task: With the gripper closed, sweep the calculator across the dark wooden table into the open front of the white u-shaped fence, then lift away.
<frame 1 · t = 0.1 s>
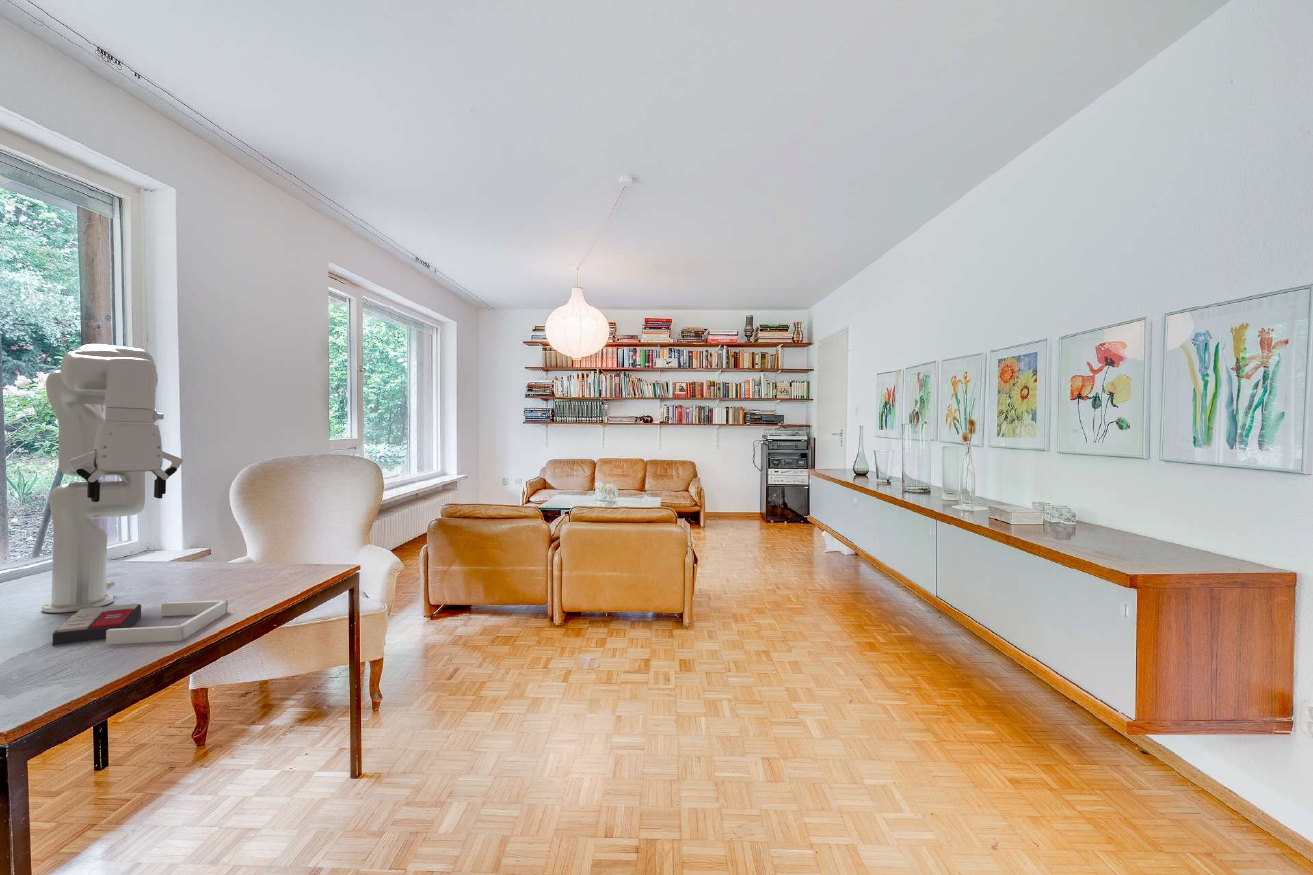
hand: (127, 499, 115), 31 cm above the table, tool pointing down, fingers open, 9 cm apart
calculator: (99, 633, 125), on the table
white u-shaped fence: (168, 627, 128), on the table
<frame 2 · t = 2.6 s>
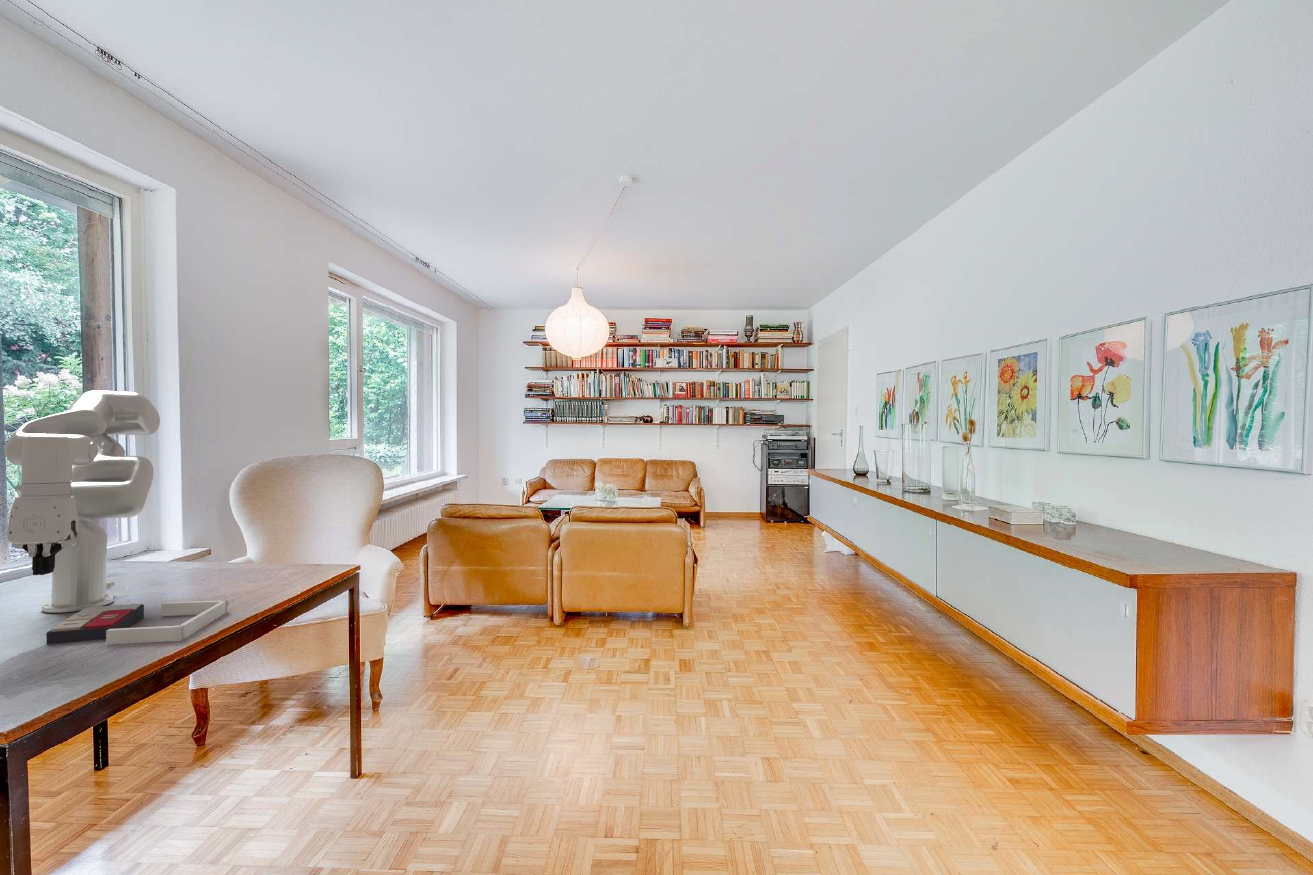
hand: (43, 573, 122), 13 cm above the table, tool pointing down, fingers closed
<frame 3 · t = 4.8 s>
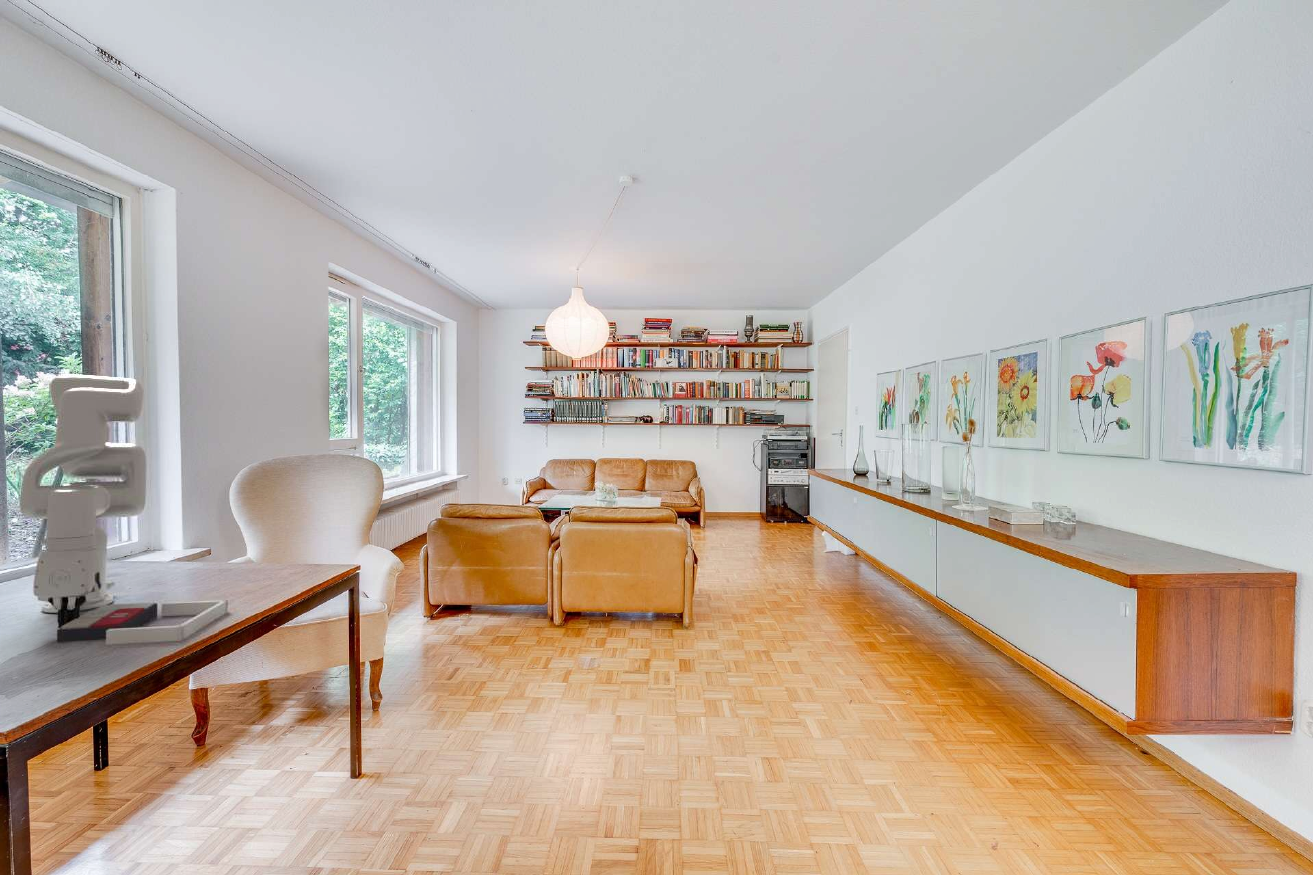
hand: (68, 625, 123), 1 cm above the table, tool pointing down, fingers closed
calculator: (110, 630, 126), on the table
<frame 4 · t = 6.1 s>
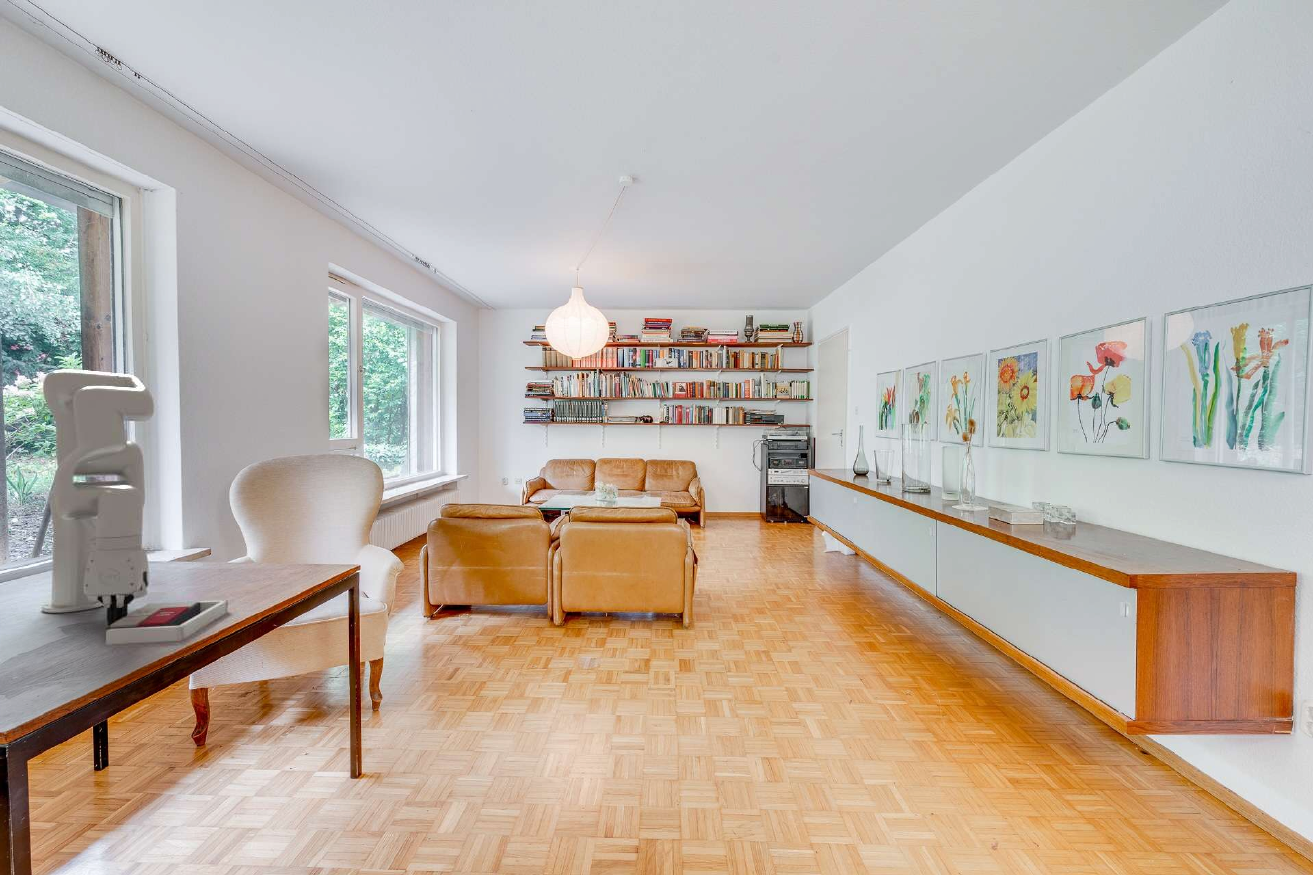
hand: (116, 623, 125), 1 cm above the table, tool pointing down, fingers closed
calculator: (156, 629, 128), on the table, touching gripper
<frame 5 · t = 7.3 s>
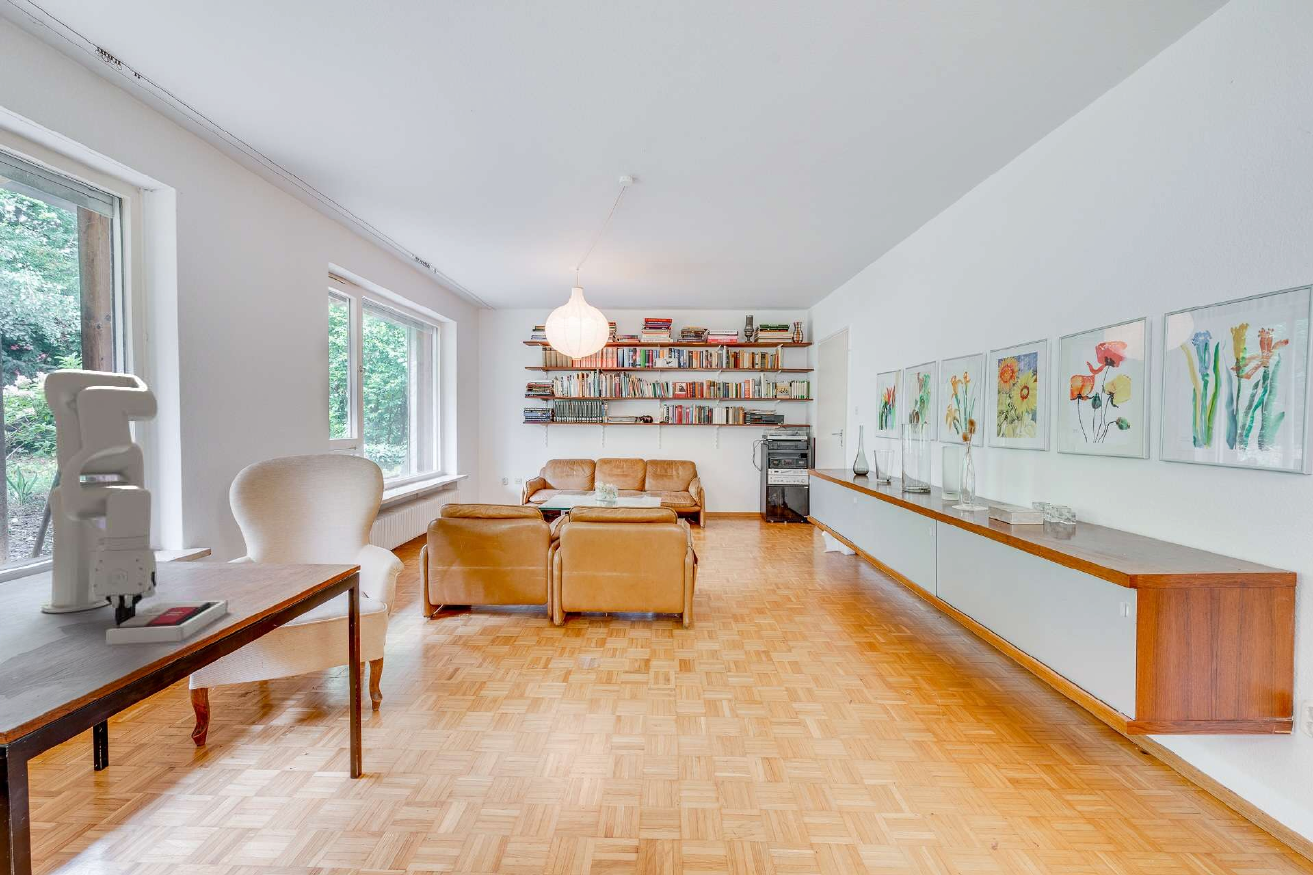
hand: (125, 623, 126), 1 cm above the table, tool pointing down, fingers closed
calculator: (165, 629, 128), on the table
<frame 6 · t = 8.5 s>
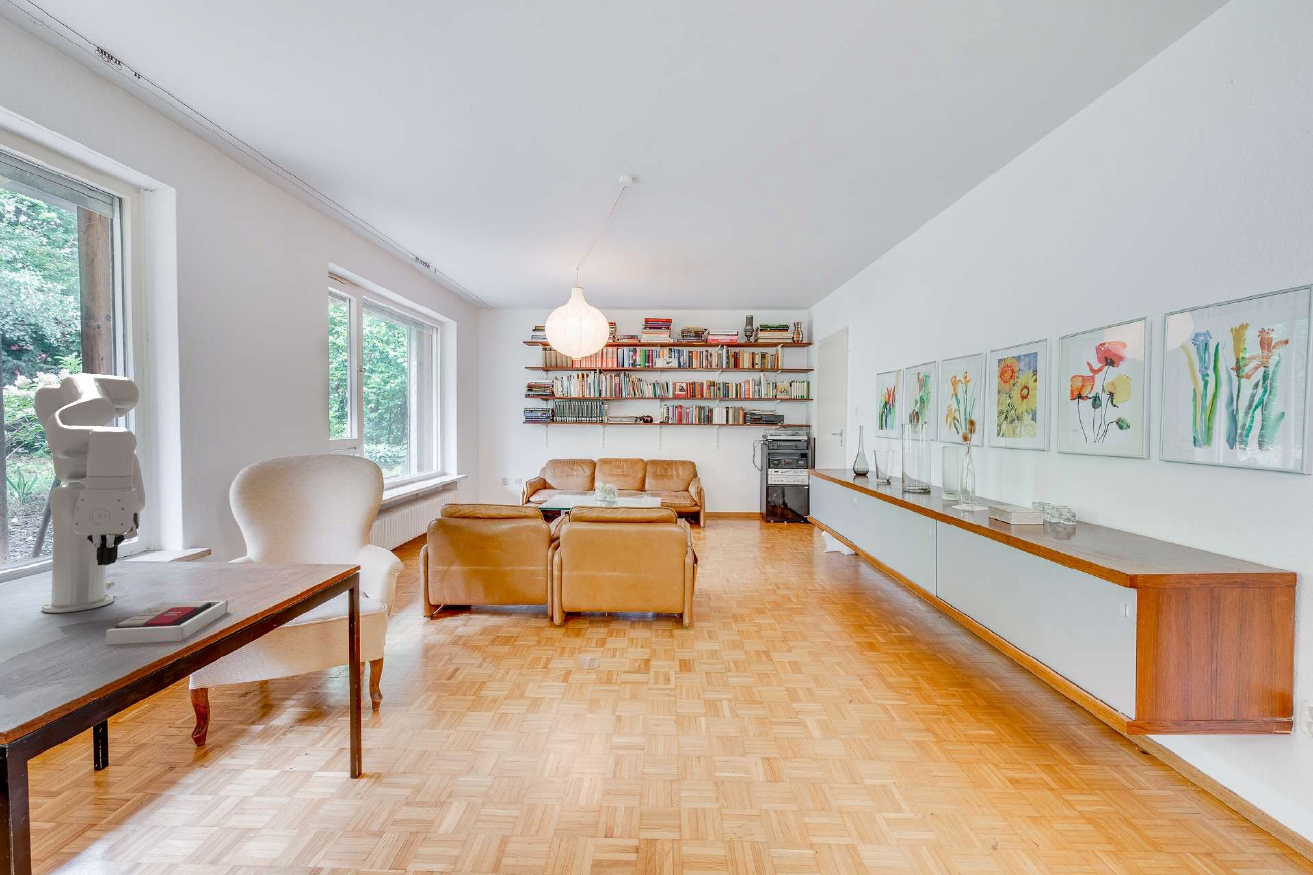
hand: (106, 563, 125), 15 cm above the table, tool pointing down, fingers closed
nothing on the table moved.
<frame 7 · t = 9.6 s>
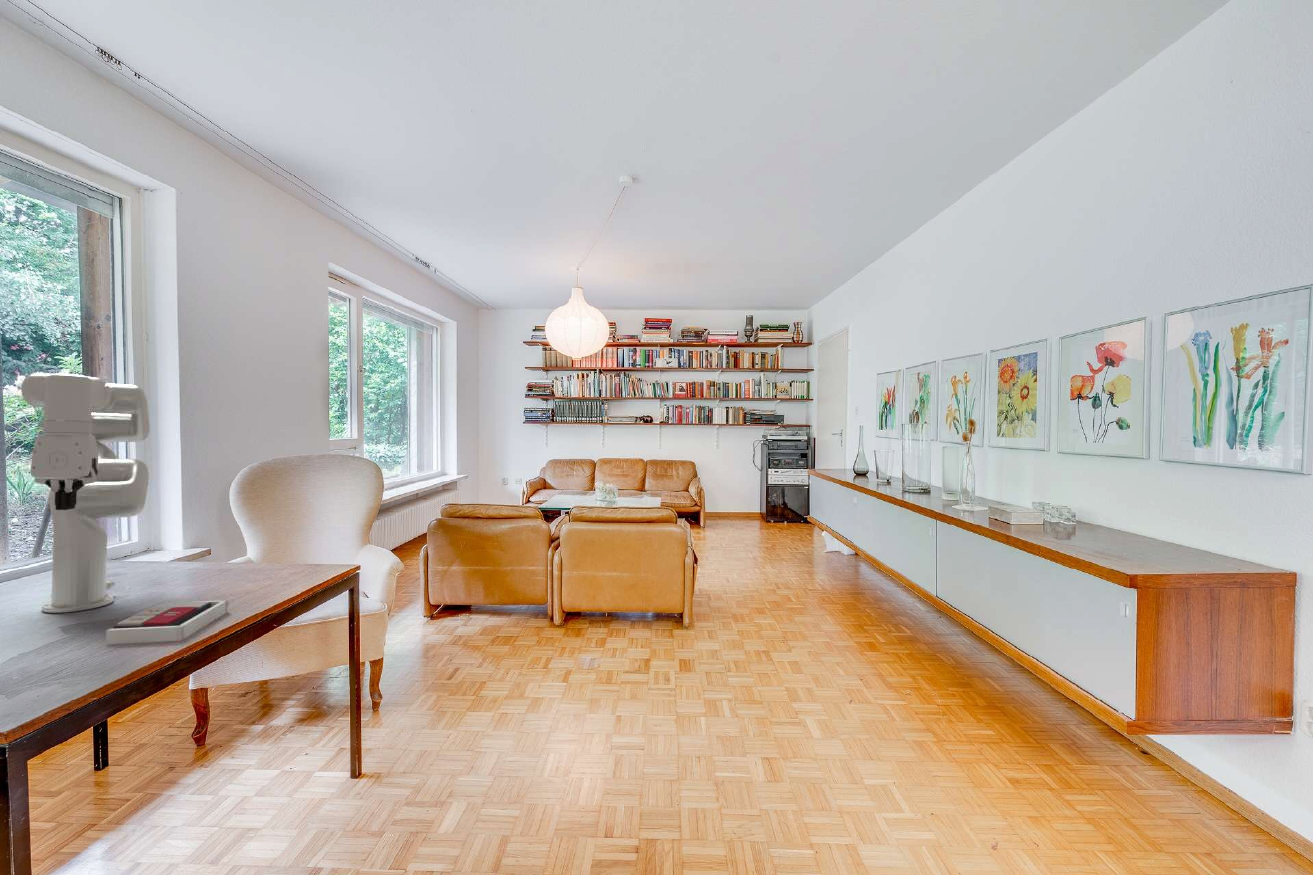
hand: (65, 509, 125), 27 cm above the table, tool pointing down, fingers closed
nothing on the table moved.
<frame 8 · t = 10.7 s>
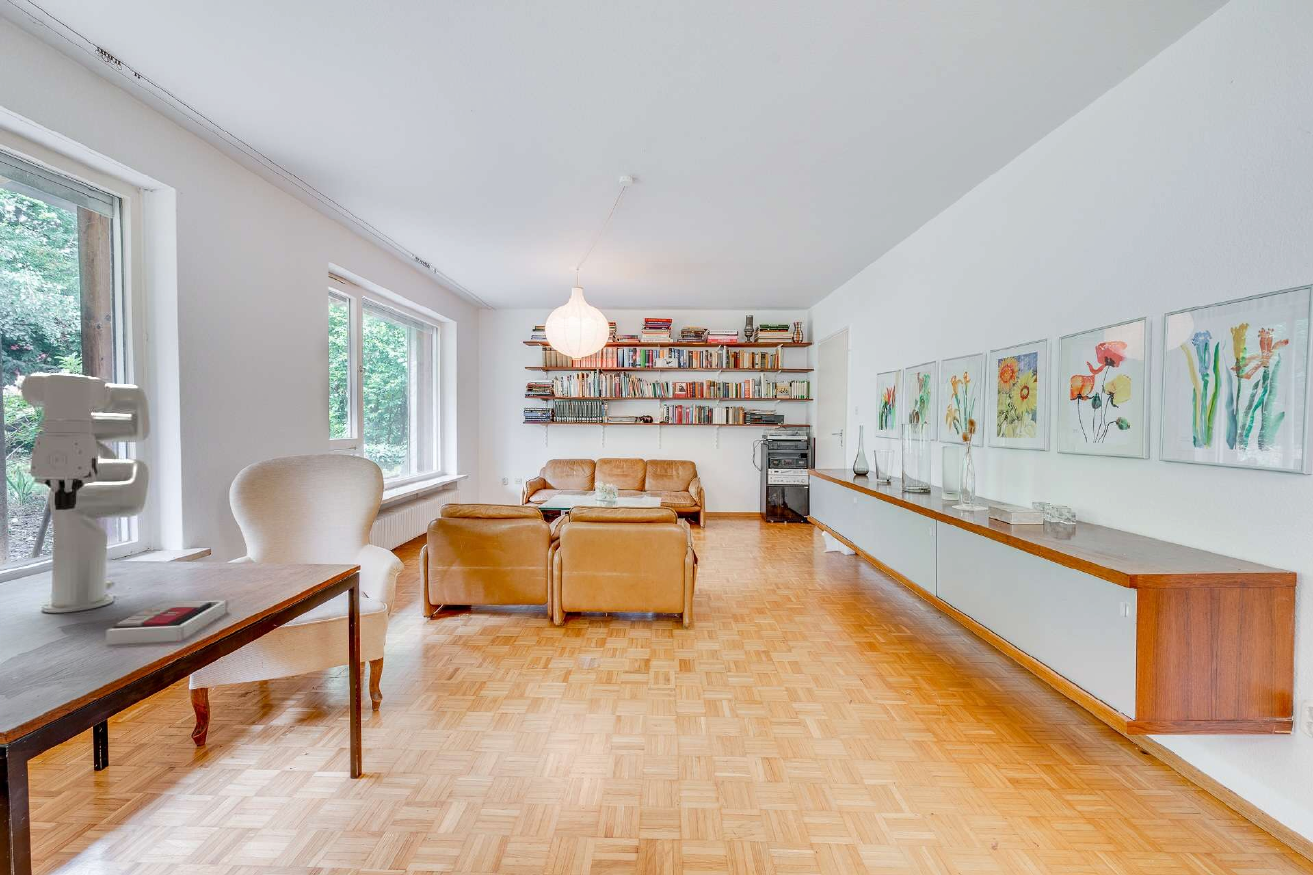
hand: (65, 508, 125), 27 cm above the table, tool pointing down, fingers closed
nothing on the table moved.
at the end: calculator inside the target area on the white u-shaped fence (1.0 cm from its centre), point -0.6 cm above the white u-shaped fence's base; calculator on the table; calculator moved 11.9 cm from its start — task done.
